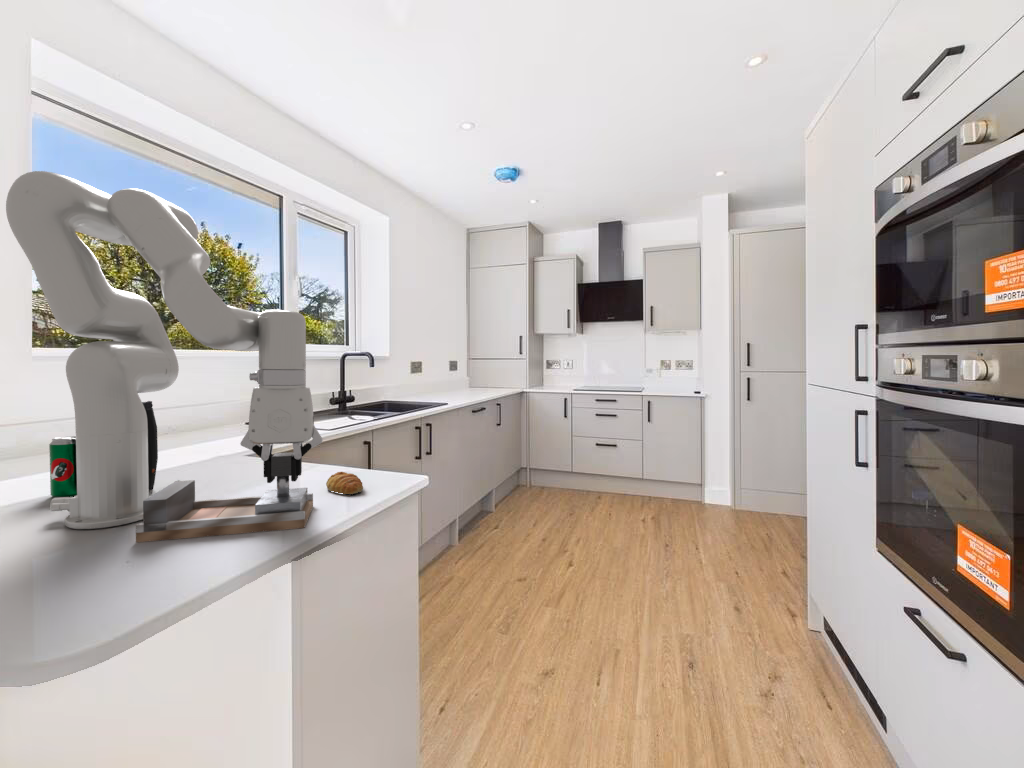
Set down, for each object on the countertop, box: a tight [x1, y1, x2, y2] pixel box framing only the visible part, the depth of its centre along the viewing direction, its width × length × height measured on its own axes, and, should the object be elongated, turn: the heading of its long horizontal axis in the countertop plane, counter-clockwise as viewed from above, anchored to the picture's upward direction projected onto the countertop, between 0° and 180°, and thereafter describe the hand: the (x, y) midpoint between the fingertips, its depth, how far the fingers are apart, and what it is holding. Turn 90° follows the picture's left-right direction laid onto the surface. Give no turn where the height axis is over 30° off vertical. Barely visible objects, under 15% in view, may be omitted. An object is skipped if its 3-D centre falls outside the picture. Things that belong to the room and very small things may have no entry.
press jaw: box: [255, 451, 308, 515], centre depth 80 cm, size 7×9×10 cm
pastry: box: [325, 471, 364, 495], centre depth 98 cm, size 9×7×4 cm
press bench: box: [135, 479, 314, 543], centre depth 78 cm, size 24×12×6 cm, turn 108°
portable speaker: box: [142, 400, 159, 491], centre depth 93 cm, size 9×9×20 cm
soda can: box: [48, 435, 77, 498], centre depth 91 cm, size 5×5×12 cm
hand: (283, 479), depth 80 cm, fingers closed on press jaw, 3 cm apart
